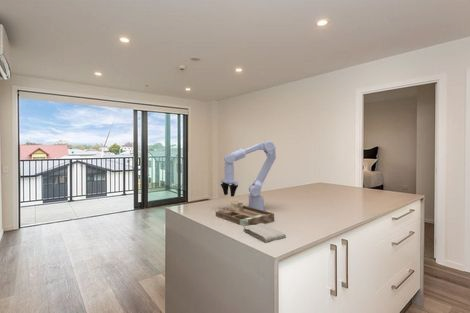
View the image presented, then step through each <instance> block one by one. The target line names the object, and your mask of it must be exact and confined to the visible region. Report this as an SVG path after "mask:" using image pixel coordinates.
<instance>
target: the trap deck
mask: <svg viewBox="0 0 470 313" xmlns="http://www.w3.org/2000/svg"><path fill="white" fill-rule="evenodd" d="M215 217H218V218H220V219H223V220H226V221H228V222H230V223H231V222H232V223H234V224H237V225H240V226H243V227H245V226H249V225H257V224H260V223H264V224H266V225H267V224H269V223H272V222H275V213H274V212H269V211H266V210H263V211H262V210H259V209H255V208H251V207H249V206H246V205H243V209H241V210H233V209H231V208H228V209H223V210H218V211H215Z"/></svg>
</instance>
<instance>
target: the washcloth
mask: <svg viewBox="0 0 470 313" xmlns="http://www.w3.org/2000/svg"><path fill="white" fill-rule="evenodd" d="M243 231H244V232H245V233H246V234H248V235H250V236H252V237H253V238H255V239H257V240H259V241H261V242H263V243H268V242H272V241H276V240H277V241H278V240H281V239H285V238H286V237H287V234H285V232H283V231H281V230H278V229H276V228H275V227H272V226H270V225H268V224H267V223H266V224H264V223H260V224H257V225H249V226H243Z"/></svg>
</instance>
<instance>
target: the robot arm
mask: <svg viewBox="0 0 470 313" xmlns="http://www.w3.org/2000/svg"><path fill="white" fill-rule="evenodd" d="M256 151H263V152H264V154H265V156H266V159H265V161H264V162H263V164H262V166H261V168H260V170H259V172H258V174H257V176H256V178H255V180H254V181H253V182H252V184H250V185H249V187H248V192H249V194H248V207H251V208H255V209H259V210H262V211H266V209H265V198H264V196H263V195H261V191H262V187H263V185H264V184H263V183H264V181H265V179H266V178H267V177H268V174H269V172H270V170H271V168H272V166H273V164H274V163H275V160H276V158H277V157H276V156H277V155H276V146H275V144H274V142H273V141H271V140H266V141H264V142H260V143H256V144H254V145H252V146H250V147H248V148H245V149H243V148H238V149H237V150H236V151H233V152H232V151H231V152H230V153H228V154H226V155H225V156H224V179H220V183H221V184H220V187H221V188H222V192H223V195H224V196H228V194H229V193H230V197H231V198H233V197H235V194H236V191H237V189H238V187H239V182H238V181H236V180H235V171H234V170H235V166H234V162H237V161H240V160H242V159H245V158H246V155H248V154H251V153H253V152H256ZM229 191H230V192H229Z"/></svg>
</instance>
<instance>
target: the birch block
mask: <svg viewBox="0 0 470 313" xmlns="http://www.w3.org/2000/svg"><path fill="white" fill-rule="evenodd" d="M230 205H231V206H230V207H231V208H230V209H233V210H241V209H243V206H244V202H242V201H240V200H236V201H232V202H231V203H230Z"/></svg>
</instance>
